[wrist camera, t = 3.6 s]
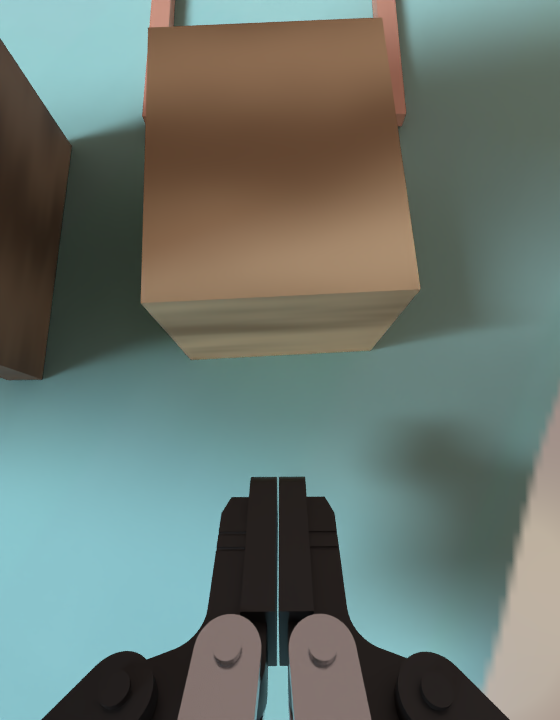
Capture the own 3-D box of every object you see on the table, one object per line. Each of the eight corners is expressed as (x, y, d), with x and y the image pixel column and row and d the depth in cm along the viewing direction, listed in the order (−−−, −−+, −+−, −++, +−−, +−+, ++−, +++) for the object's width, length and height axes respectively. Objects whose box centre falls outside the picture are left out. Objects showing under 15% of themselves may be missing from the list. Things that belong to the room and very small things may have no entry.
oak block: (369, 351, 19) (420, 289, 12) (191, 360, 19) (140, 303, 12) (349, 160, 21) (382, 17, 14) (191, 167, 21) (148, 27, 14)
